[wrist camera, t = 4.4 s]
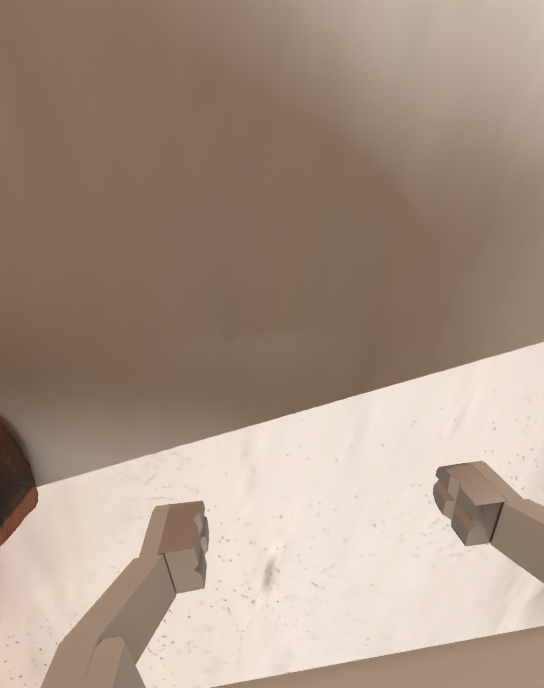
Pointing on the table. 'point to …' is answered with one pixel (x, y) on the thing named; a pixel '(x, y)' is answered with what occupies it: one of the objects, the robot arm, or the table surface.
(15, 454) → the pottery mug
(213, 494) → the table surface
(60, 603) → the table surface
